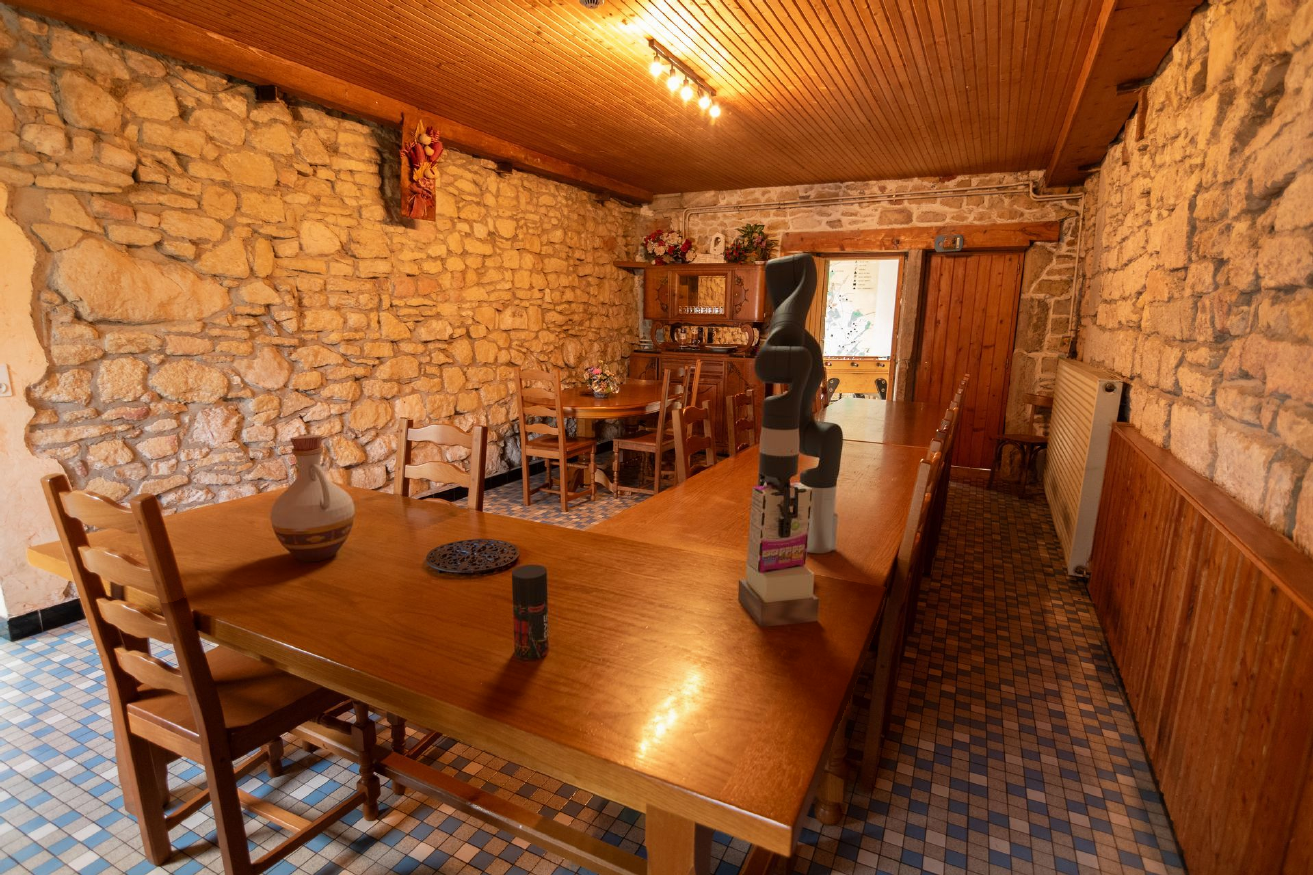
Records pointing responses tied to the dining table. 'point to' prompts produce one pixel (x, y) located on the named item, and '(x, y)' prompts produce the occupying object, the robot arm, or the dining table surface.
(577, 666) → the dining table surface
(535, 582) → the deodorant
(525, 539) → the dining table surface
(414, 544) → the dining table surface
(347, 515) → the jug
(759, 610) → the walnut slab
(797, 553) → the candy bar box
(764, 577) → the cream square block
